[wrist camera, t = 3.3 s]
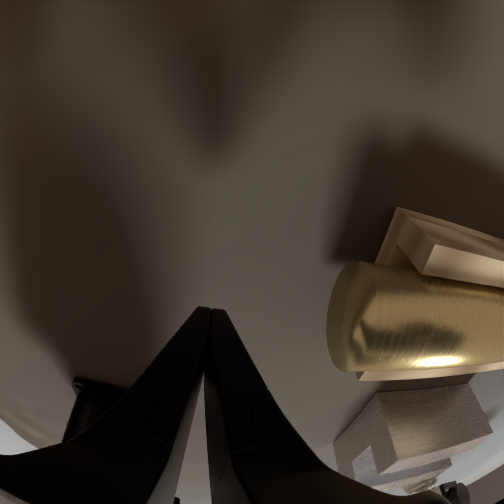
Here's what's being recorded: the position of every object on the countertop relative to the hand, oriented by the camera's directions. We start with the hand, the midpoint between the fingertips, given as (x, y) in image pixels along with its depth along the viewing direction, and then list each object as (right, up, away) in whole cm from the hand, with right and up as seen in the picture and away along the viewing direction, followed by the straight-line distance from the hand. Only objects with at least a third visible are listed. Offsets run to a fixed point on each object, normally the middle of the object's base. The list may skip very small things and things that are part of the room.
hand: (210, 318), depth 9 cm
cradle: (+14, -12, +12) cm, 22 cm away
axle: (+12, -1, +4) cm, 13 cm away
